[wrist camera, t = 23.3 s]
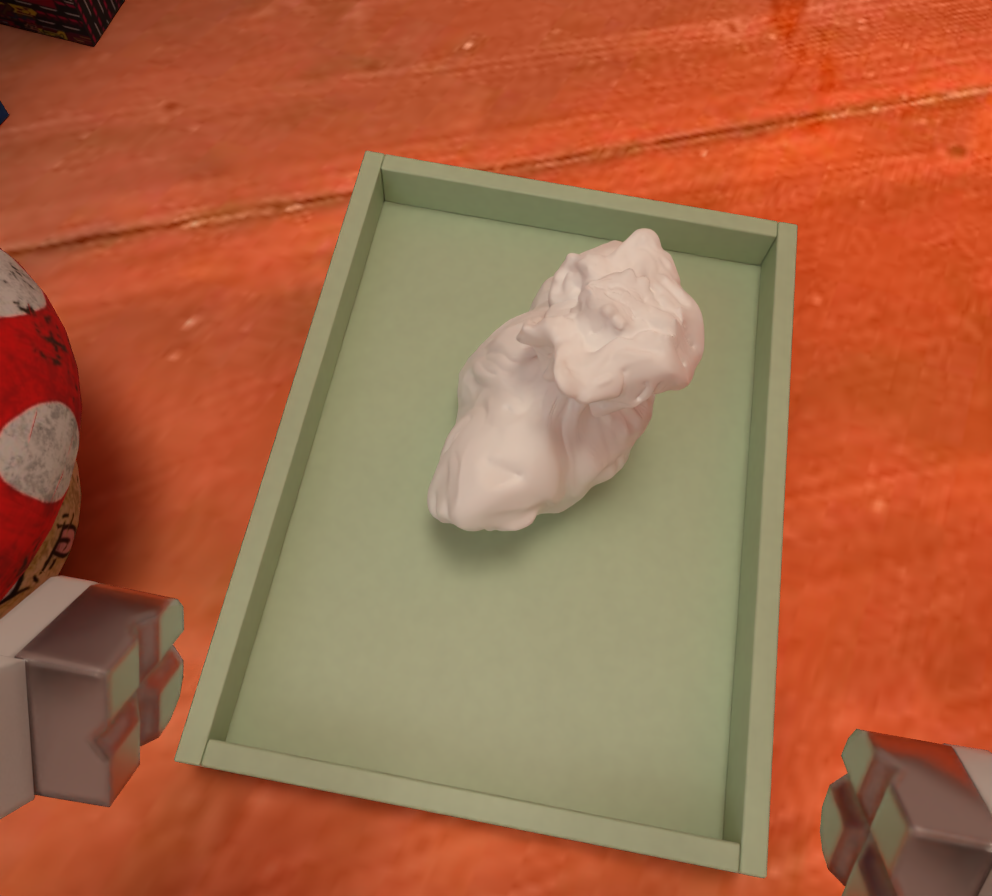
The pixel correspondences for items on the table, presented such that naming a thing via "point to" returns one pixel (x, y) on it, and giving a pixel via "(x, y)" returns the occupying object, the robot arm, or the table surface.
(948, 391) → the table surface
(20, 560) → the mushroom
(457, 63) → the table surface
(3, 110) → the pasta box
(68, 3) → the box
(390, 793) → the serving tray
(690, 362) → the bust
